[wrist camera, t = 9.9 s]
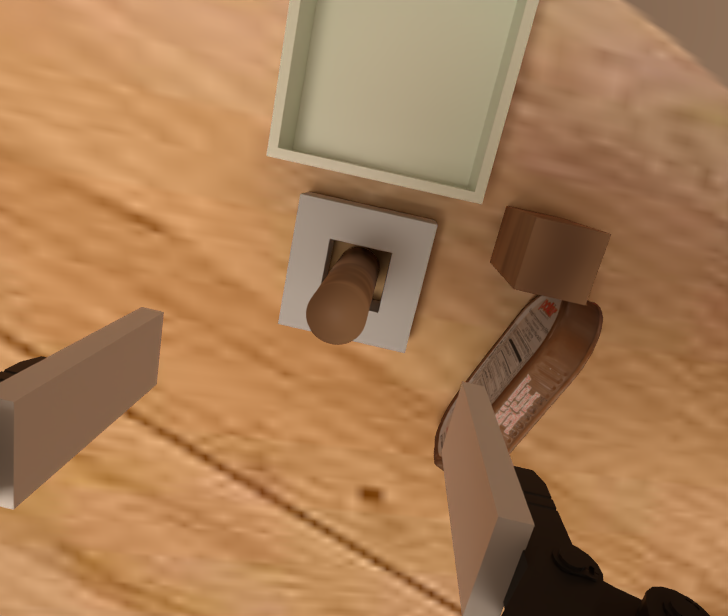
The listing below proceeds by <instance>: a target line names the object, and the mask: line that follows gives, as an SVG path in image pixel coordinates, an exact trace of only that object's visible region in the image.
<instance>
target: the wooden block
mask: <svg viewBox="0 0 728 616" xmlns="http://www.w3.org/2000/svg"><path fill="white" fill-rule="evenodd" d="M610 236H611V234H609V233H606V232H603V231H600V230H597V229H594V228H591V227H588V226H585V225H582V224H579V223H576V222H573V221H570V220H566V219H563V218H559V217H554V216H550V215H545V214H541V213H537V212H532V211H528V210H523V209H519V208H514V207H510V206H506V210H505V213H504V216H503V220H502V223H501V227H500V230H499V233H498V237H497V240H496V244H495V247H494V250H493V254H492V257H491V261H490V263H491V264H492V265H493V266H494V267H495V268H496V269H497V270H498V272H499V273H500V274H501V275H502V276H503V277H504V278H505V280H506V281H507V282H508V283H509V284H510V285H511V286H512V287H513V289H516V290H520V291H524V292H529V293H533V294H537V295H542V296H546V297H551V298H555V299H559V300H564V301H568V302H572V303H577V304H581V305H586V302H587V300H588V297H589V294H590V291H591V289H592V286H593V283H594V280H595V278H596V275H597V272H598V269H599V267H600V264H601V261H602V258H603V256H604V253H605V250H606V247H607V245H608V242H609V239H610Z"/></svg>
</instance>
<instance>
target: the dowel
mask: <svg viewBox="0 0 728 616" xmlns="http://www.w3.org/2000/svg"><path fill="white" fill-rule="evenodd" d="M378 273H379V262H378V259H377V257H376V256H375V254H374V253H373V252H371V251H370V250H368V249H366V248H363V247H354V248H351V249H348V250H347V251H345V252H344V253H343V255H342V256H341V257H340V259H339V260H338V261H337V263H336V264H335V266H334V267H333V268H332V270H331V271H330V272H329V274H328V275H327V277H326V278H325V279H324V281H323V282H322V284H321V285H320V286H319V288H318V289H317V291H316V292H315V293H314V295H313V296H312V298H311V299H310V301H309V303H308V305H307V309H306V319H307V323H308V326H309V328H310V330H311V331H312V332H313V334H314V335H315V336H316V337H317V338H319V339H320V340H322V341H324V342H326V343H329V344H335V345H340V344H346V343H349V342H351V341H353V340H354V339H356V338H357V337H358V336H359V335H360V334H361V333H362V331H363V329H364V327H365V324H366V321H367V317H368V313H369V309H370V305H371V301H372V297H373V293H374V289H375V285H376V281H377V277H378Z"/></svg>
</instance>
